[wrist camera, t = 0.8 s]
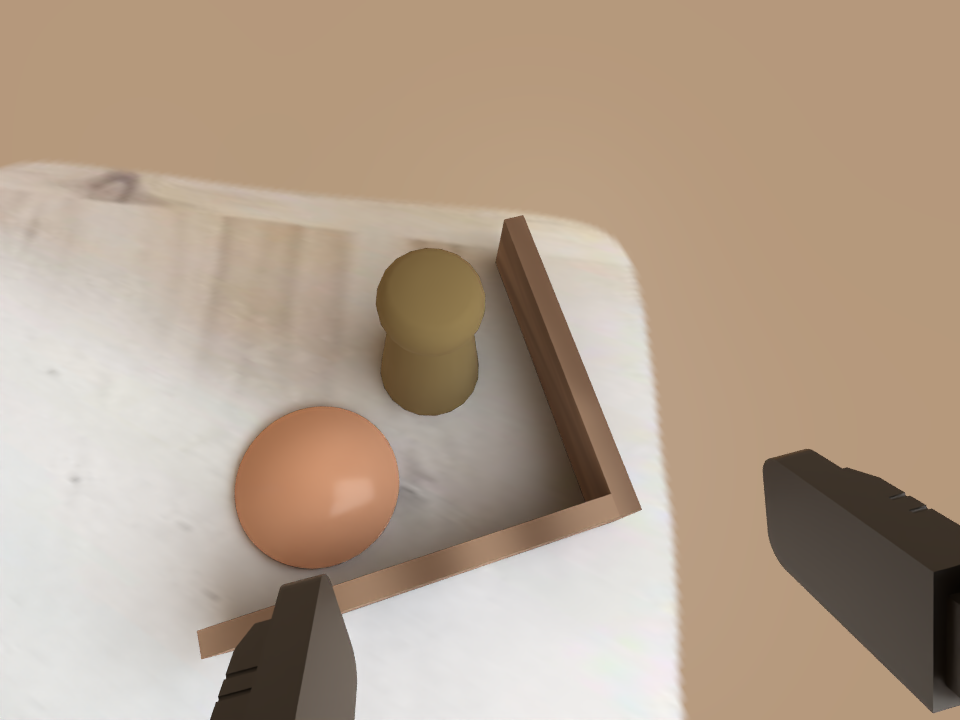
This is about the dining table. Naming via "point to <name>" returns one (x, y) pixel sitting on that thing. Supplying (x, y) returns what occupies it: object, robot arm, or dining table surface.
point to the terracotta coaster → (317, 487)
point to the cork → (430, 330)
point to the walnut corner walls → (578, 430)
